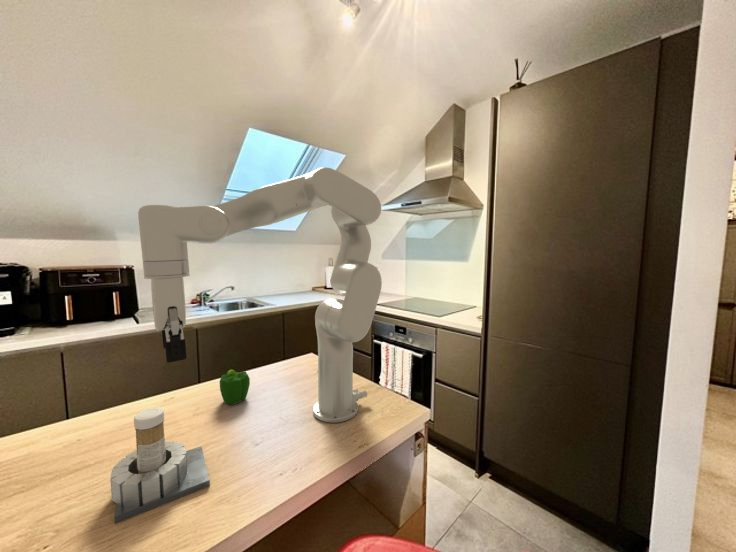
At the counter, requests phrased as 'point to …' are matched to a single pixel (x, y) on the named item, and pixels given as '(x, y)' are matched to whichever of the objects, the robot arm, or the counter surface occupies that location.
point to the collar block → (157, 480)
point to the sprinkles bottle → (150, 439)
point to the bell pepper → (234, 386)
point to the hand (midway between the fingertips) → (174, 353)
